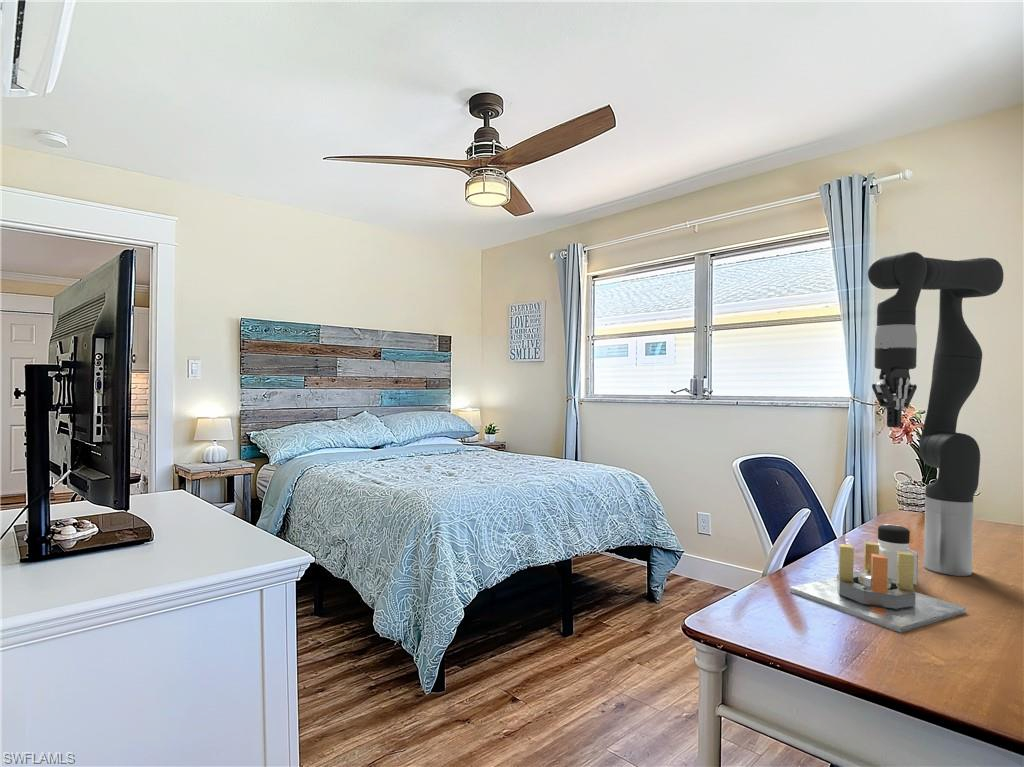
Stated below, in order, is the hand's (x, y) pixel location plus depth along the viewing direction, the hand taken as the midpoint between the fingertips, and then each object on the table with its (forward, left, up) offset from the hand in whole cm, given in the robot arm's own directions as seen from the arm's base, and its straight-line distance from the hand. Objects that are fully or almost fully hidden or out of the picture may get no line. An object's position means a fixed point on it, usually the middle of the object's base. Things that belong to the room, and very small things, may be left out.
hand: (893, 427), depth 124 cm
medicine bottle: (-8, -4, -35) cm, 36 cm away
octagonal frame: (+11, +3, -34) cm, 36 cm away
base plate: (+11, +3, -35) cm, 37 cm away
